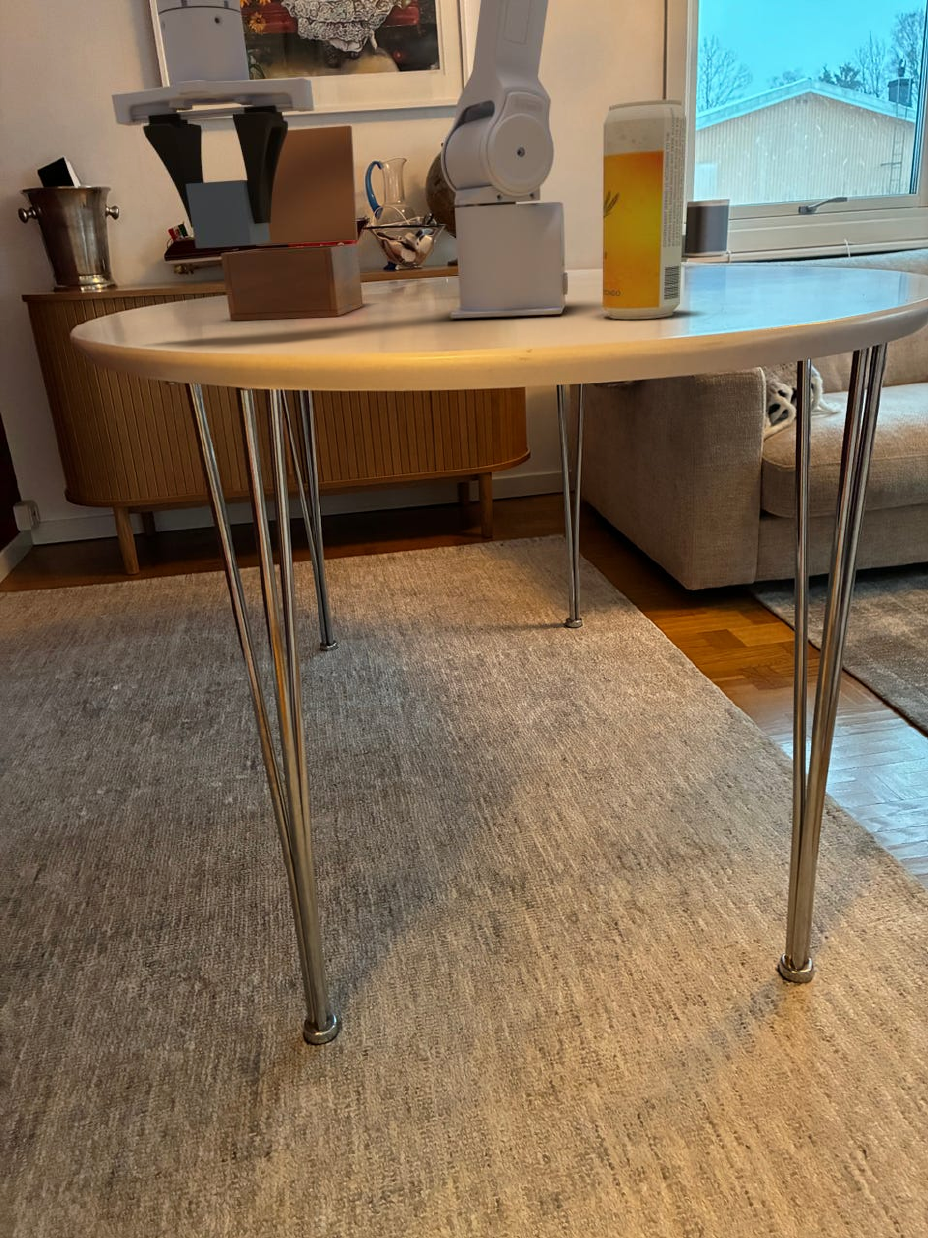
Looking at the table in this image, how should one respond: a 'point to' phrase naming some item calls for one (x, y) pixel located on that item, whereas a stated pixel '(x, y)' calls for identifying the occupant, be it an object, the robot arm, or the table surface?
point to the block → (224, 215)
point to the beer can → (643, 208)
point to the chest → (292, 282)
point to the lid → (314, 188)
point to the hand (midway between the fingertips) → (230, 225)
